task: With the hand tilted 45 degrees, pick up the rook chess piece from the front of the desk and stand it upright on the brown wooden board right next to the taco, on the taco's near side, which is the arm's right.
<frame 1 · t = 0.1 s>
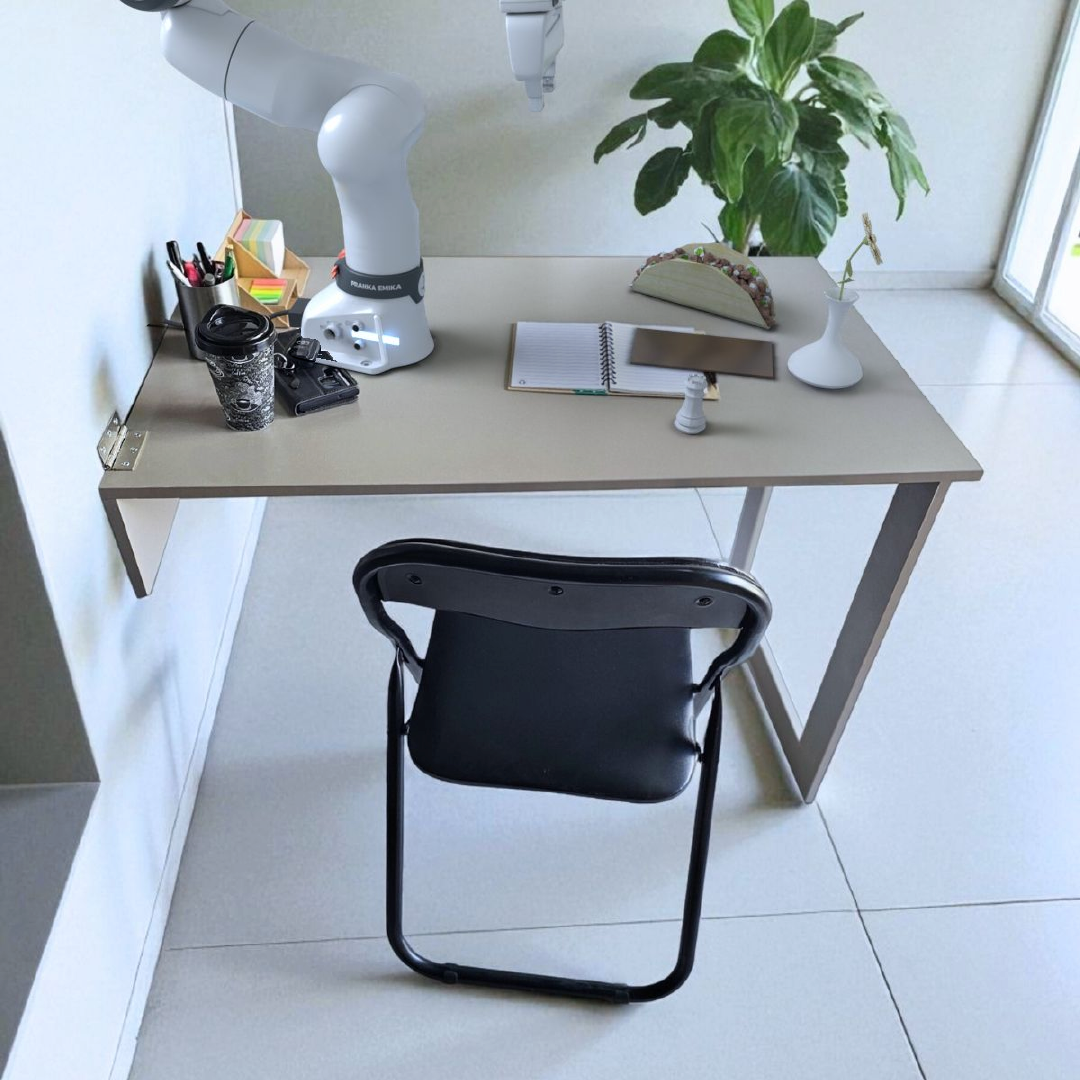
hand: (542, 100, 138), 39 cm above the table, tool pointing down, fingers open, 8 cm apart
rook chess piece: (689, 428, 148), on the table
flower in vase: (824, 376, 162), on the table
taco: (700, 308, 180), on the table
brown wooden board: (702, 353, 166), on the table
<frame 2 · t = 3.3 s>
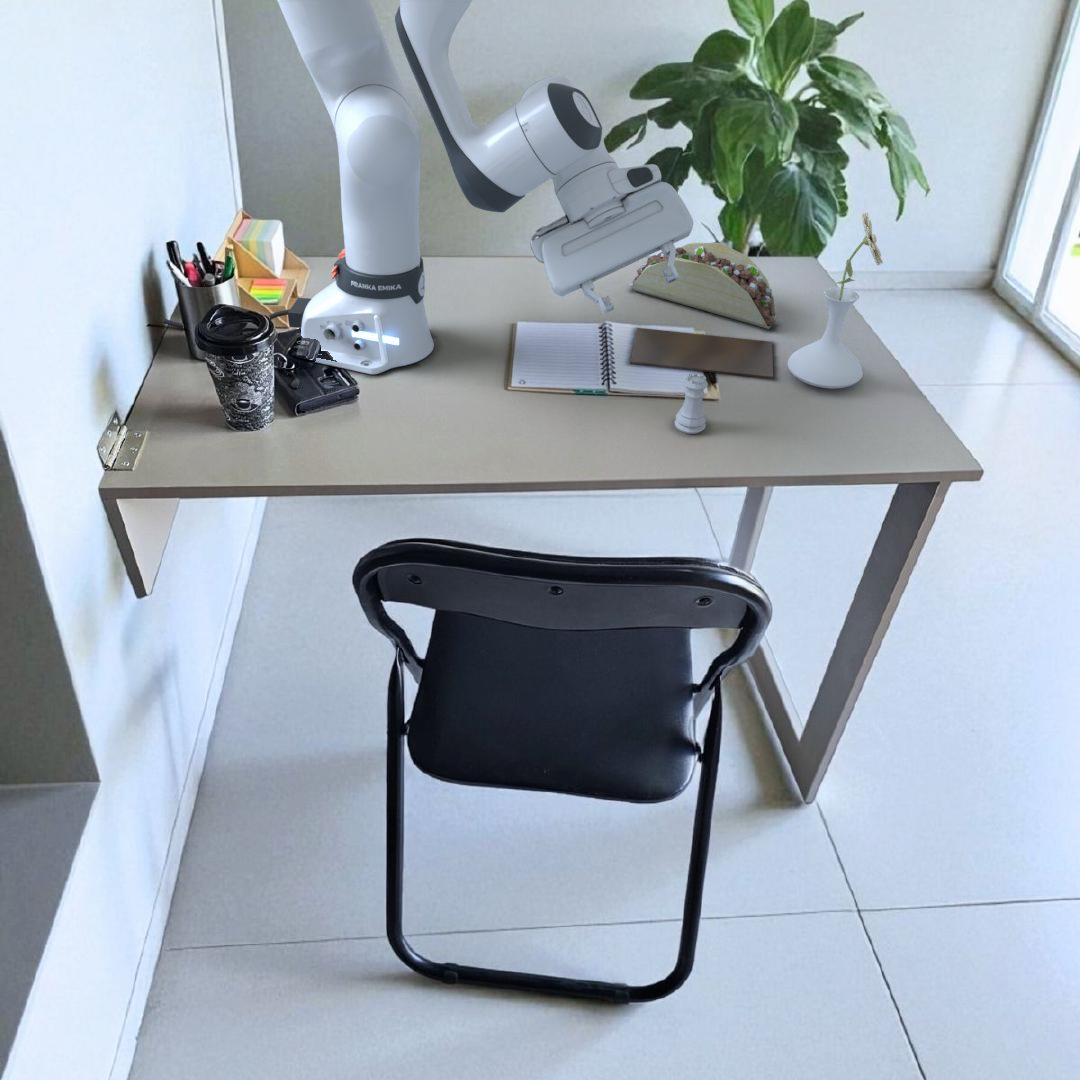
hand: (641, 296, 137), 19 cm above the table, tool tilted 45°, fingers open, 8 cm apart
nothing on the table moved.
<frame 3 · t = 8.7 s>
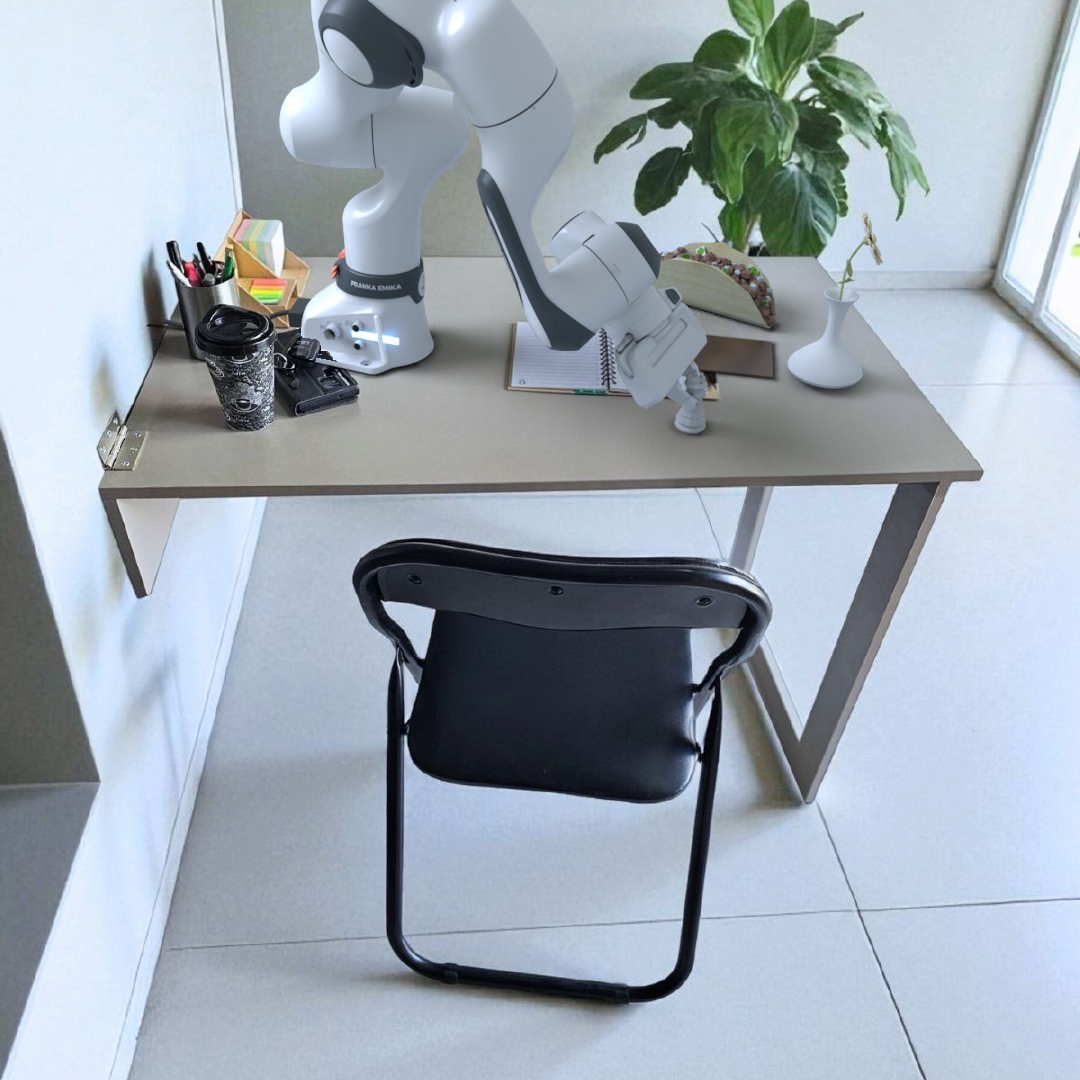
hand: (697, 401, 145), 4 cm above the table, tool tilted 45°, fingers closed on rook chess piece, 3 cm apart
rook chess piece: (689, 428, 148), on the table, touching gripper
everything else where it was.
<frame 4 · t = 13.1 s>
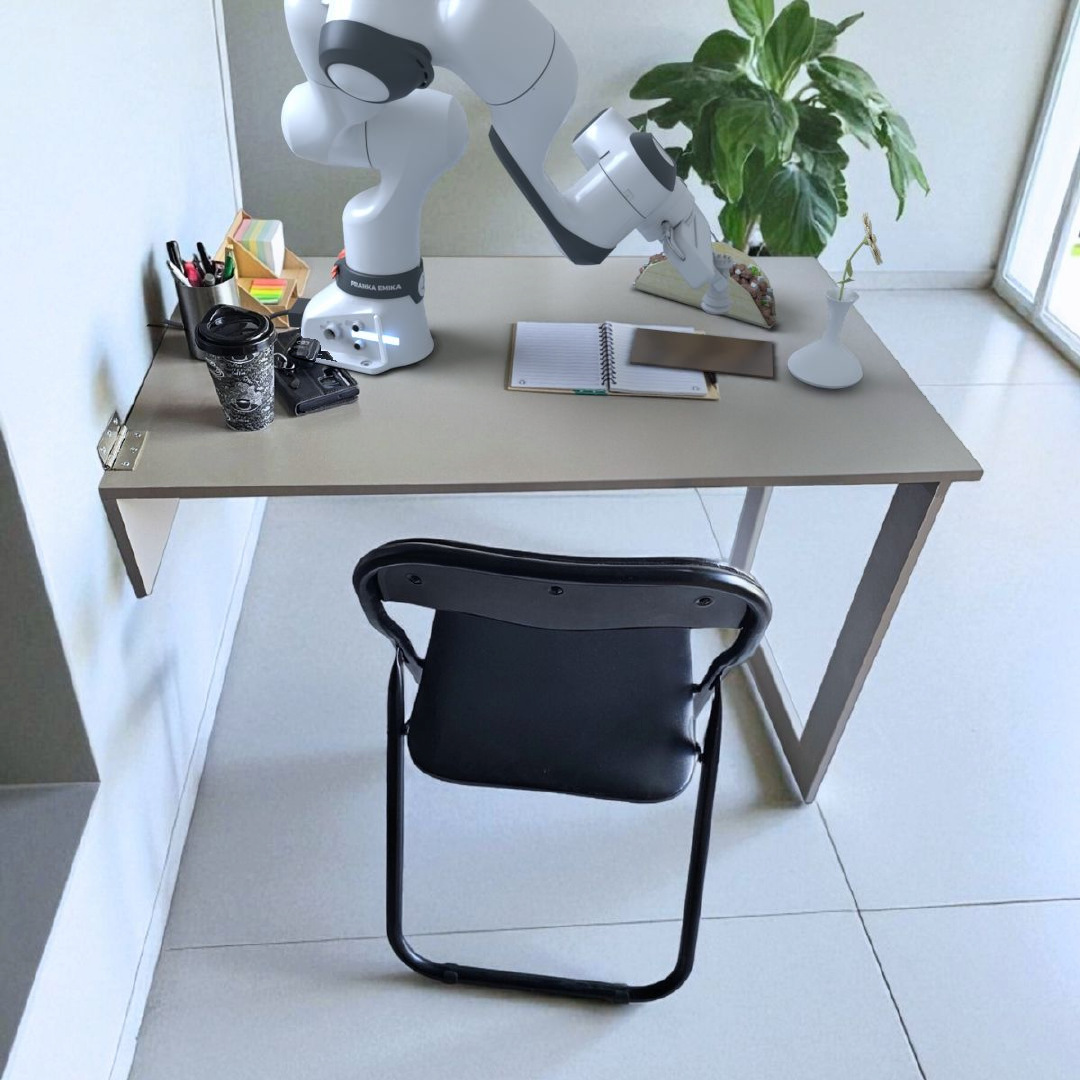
hand: (723, 281, 152), 15 cm above the table, tool tilted 45°, fingers closed on rook chess piece, 3 cm apart
rook chess piece: (715, 310, 155), point 10 cm above the table, touching gripper
everything else where it was.
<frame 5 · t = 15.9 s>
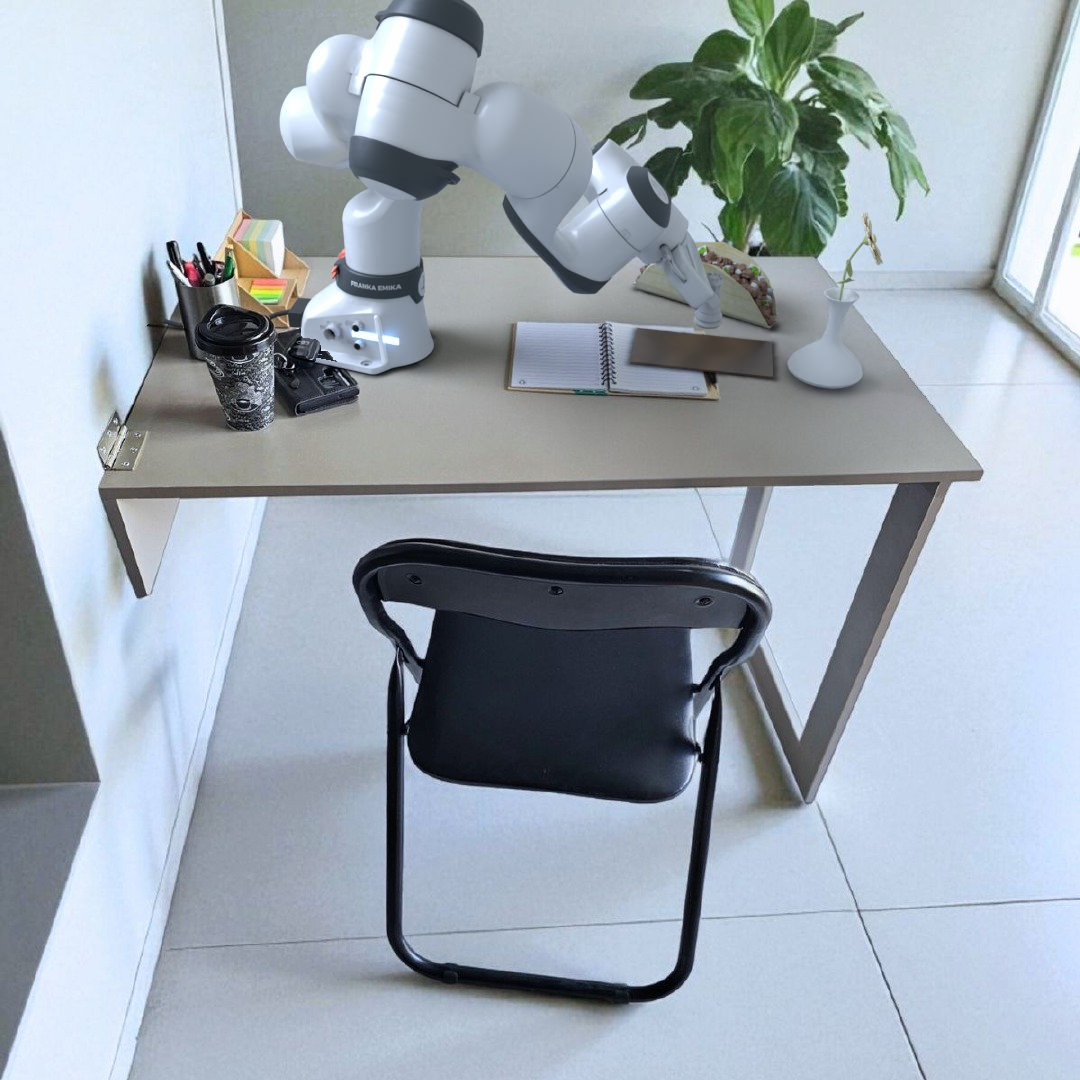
hand: (714, 297, 160), 10 cm above the table, tool tilted 45°, fingers closed on rook chess piece, 3 cm apart
rook chess piece: (707, 324, 163), point 5 cm above the table, touching gripper
everything else where it was.
when the fingers open (5 cm above the table, at t = 17.6 s): rook chess piece stays where it is, resting on brown wooden board.
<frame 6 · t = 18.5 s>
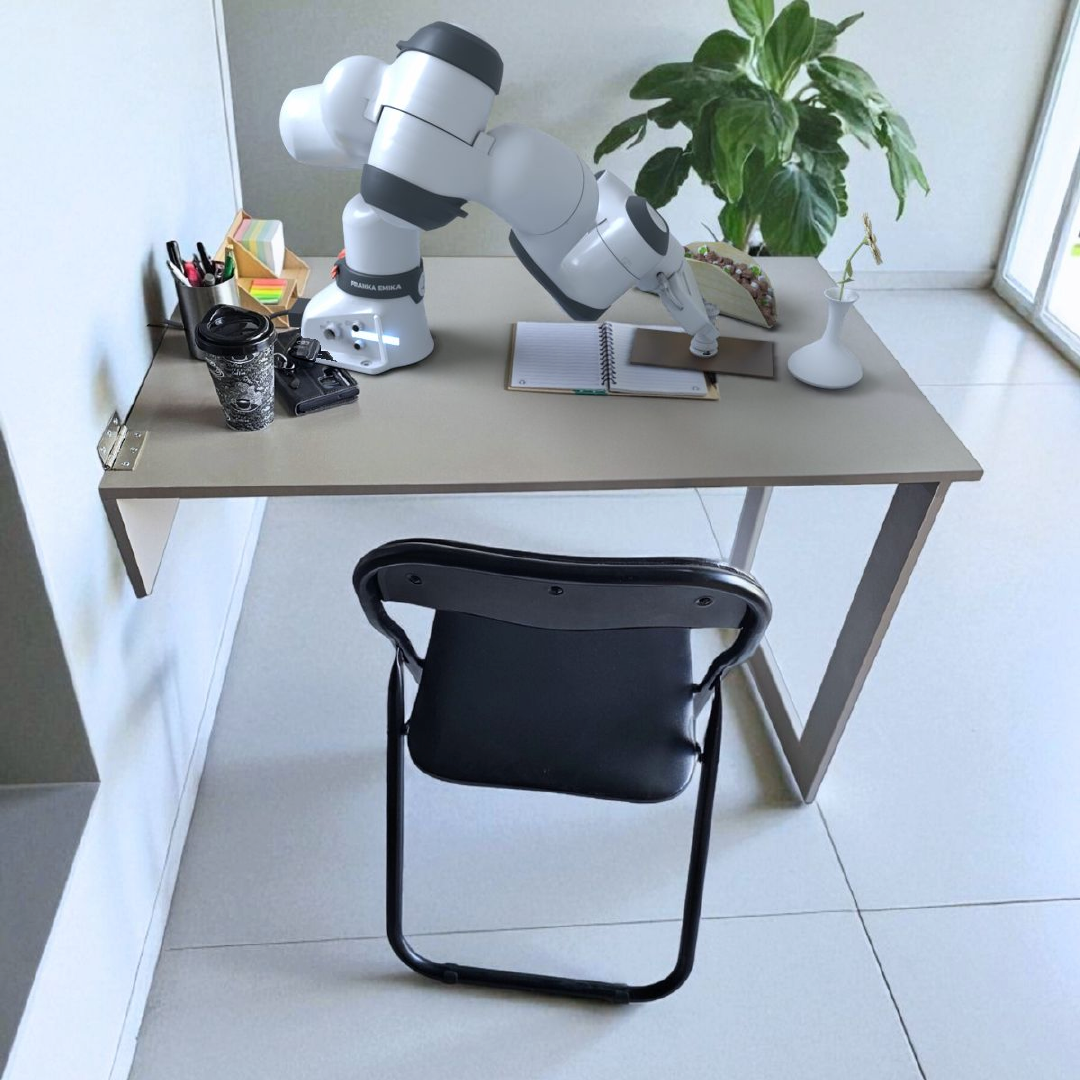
hand: (710, 322, 163), 5 cm above the table, tool tilted 45°, fingers open, 8 cm apart
rook chess piece: (702, 353, 166), resting on brown wooden board
everything else where it was.
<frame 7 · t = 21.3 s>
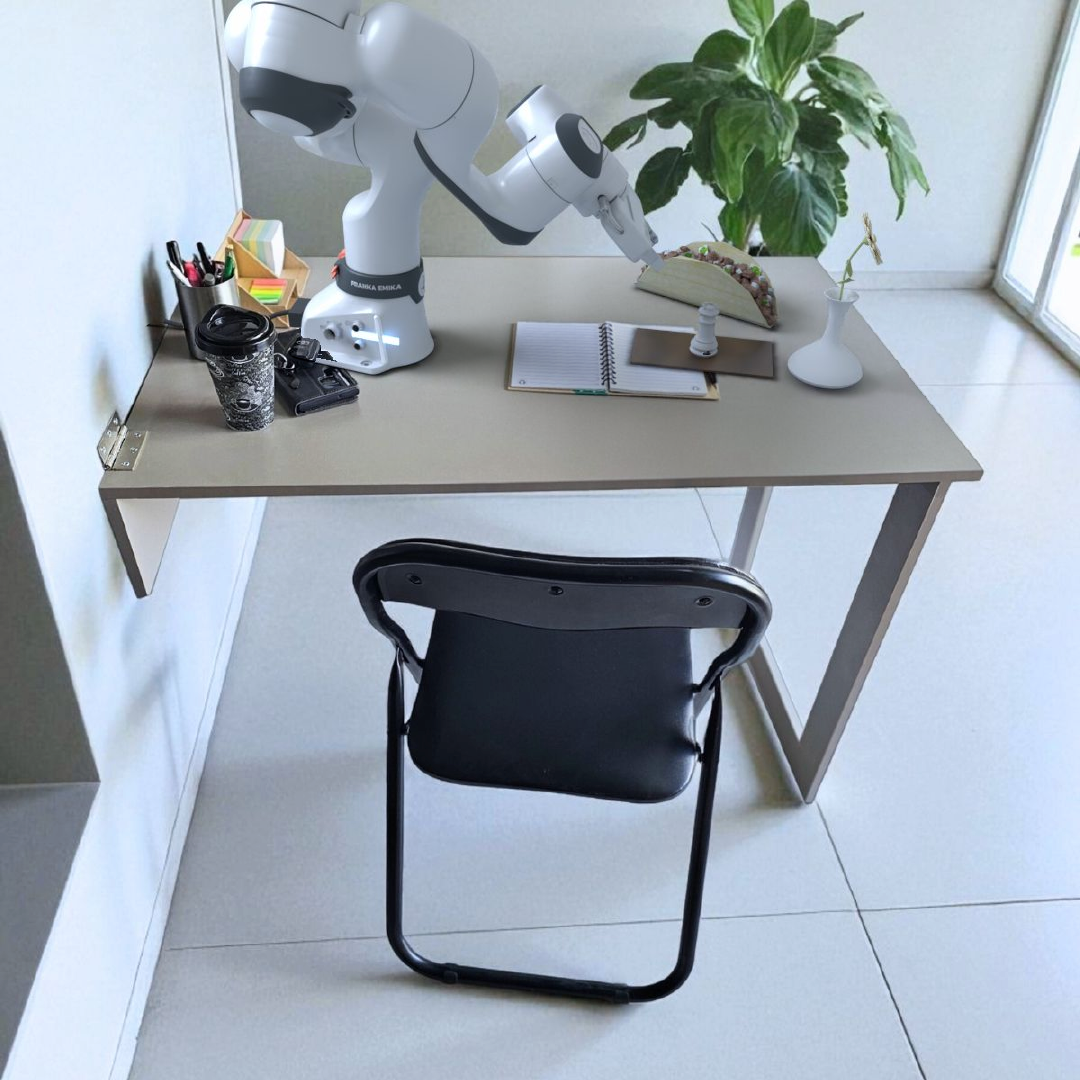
hand: (657, 254, 155), 16 cm above the table, tool tilted 45°, fingers open, 8 cm apart
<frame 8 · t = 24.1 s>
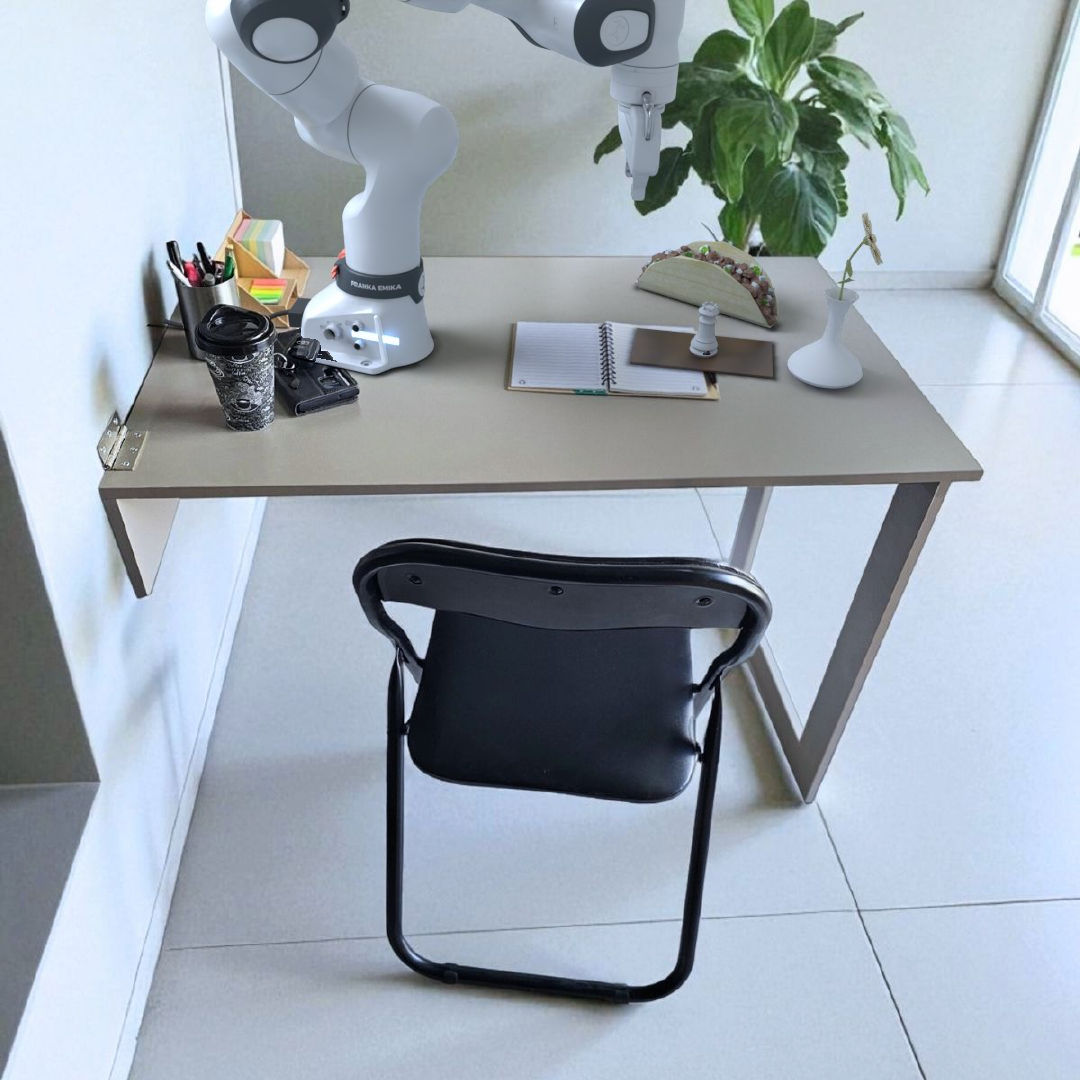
hand: (634, 187, 147), 27 cm above the table, tool pointing down, fingers open, 8 cm apart
at the end: rook chess piece inside the target area on the table beside the taco (3.2 cm from its centre), resting on brown wooden board; rook chess piece tilted 0°; taco moved 1.2 cm from its start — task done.
